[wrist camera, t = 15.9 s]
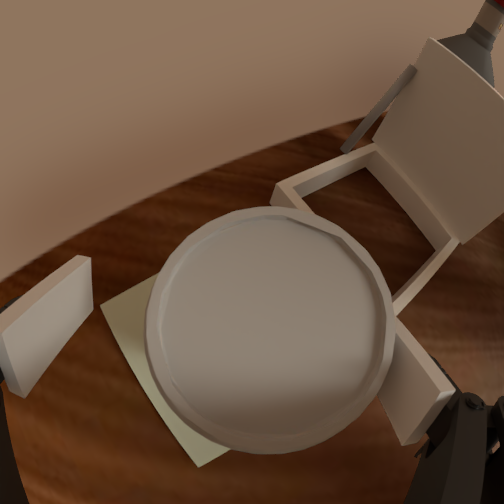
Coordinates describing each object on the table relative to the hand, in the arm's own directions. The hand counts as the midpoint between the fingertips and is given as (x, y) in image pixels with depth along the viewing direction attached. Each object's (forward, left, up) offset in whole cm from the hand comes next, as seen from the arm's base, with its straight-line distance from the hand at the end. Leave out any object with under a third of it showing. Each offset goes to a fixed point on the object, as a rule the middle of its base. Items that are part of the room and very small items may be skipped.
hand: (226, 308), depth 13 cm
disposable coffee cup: (-2, +2, -9) cm, 9 cm away
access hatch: (-18, -1, -10) cm, 21 cm away
